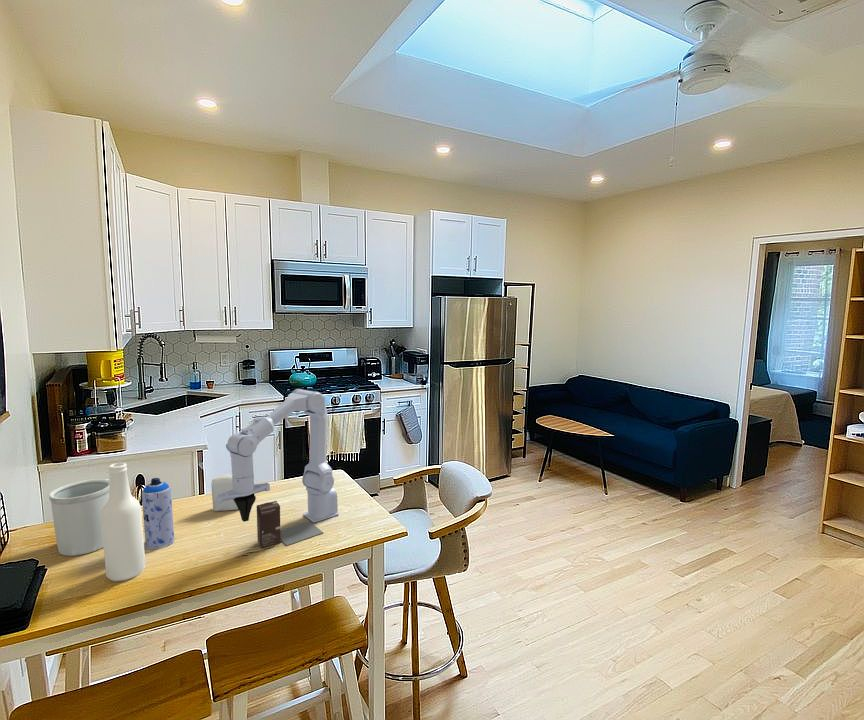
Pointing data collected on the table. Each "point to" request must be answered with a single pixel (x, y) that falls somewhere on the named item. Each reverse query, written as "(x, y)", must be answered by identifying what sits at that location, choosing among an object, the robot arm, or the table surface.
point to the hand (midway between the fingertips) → (245, 520)
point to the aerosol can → (157, 515)
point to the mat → (299, 533)
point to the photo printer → (219, 487)
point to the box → (268, 524)
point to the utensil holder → (79, 516)
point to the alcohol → (122, 528)
